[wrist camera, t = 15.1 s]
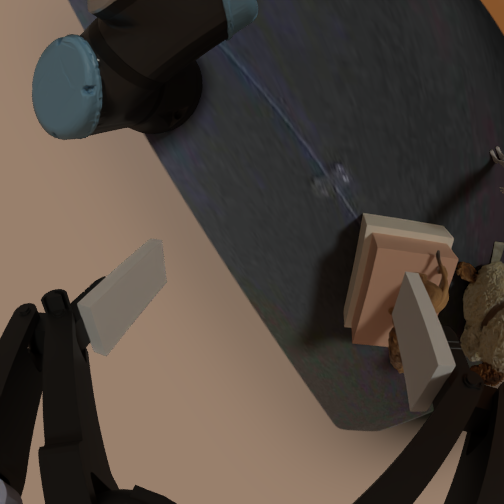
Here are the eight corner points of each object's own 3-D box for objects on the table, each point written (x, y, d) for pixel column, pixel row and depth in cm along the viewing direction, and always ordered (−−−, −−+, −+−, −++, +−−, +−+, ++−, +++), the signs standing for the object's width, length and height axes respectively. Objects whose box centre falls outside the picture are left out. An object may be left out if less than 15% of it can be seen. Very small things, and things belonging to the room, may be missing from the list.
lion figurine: (405, 337, 41) (415, 381, 33) (375, 329, 42) (381, 374, 34) (451, 253, 34) (477, 290, 26) (419, 241, 35) (441, 277, 27)
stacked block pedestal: (343, 309, 53) (344, 347, 44) (362, 213, 45) (371, 239, 36) (414, 316, 50) (425, 353, 42) (443, 226, 42) (466, 253, 33)
